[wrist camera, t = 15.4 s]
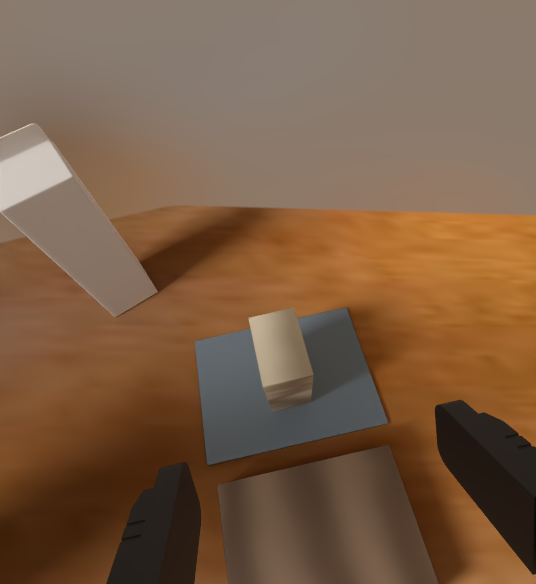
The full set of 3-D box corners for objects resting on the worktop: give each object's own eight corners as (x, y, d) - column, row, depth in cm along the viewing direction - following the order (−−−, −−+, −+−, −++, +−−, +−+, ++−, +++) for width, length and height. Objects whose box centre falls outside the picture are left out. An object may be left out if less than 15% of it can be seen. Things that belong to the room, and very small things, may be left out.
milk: (99, 285, 45) (-52, 136, 26) (140, 261, 46) (25, 103, 27) (116, 318, 42) (-39, 179, 23) (159, 292, 44) (47, 140, 25)
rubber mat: (208, 465, 33) (207, 465, 33) (195, 342, 40) (194, 341, 39) (387, 423, 34) (388, 423, 33) (346, 309, 40) (346, 307, 40)
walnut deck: (245, 643, 27) (237, 666, 23) (226, 484, 32) (217, 484, 29) (430, 597, 27) (449, 613, 24) (380, 448, 33) (389, 444, 29)
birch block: (272, 411, 35) (262, 387, 26) (260, 356, 38) (248, 318, 29) (310, 402, 35) (313, 374, 26) (295, 348, 38) (294, 307, 29)
